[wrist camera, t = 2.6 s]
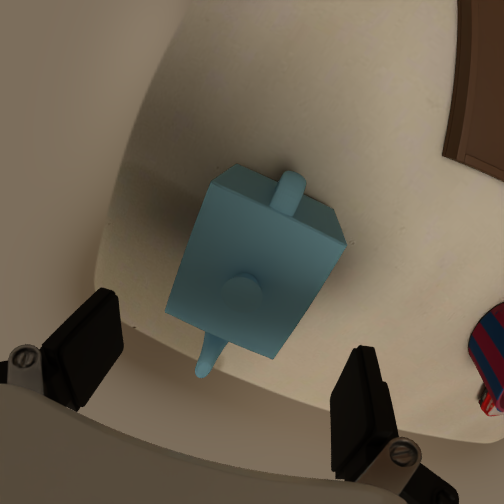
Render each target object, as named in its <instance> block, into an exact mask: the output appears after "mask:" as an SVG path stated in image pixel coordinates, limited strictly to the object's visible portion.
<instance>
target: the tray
mask: <svg viewBox="0 0 504 504" xmlns="http://www.w3.org/2000/svg"><path fill="white" fill-rule="evenodd" d="M442 156H444V157H447V158H449V159H452V160H454V161H457V162H459V163H462V164H464V165H467V166H469V167H472V168H474V169H476V170H479V171H481V172H483V173H485V174H488V175H490V176H492V177H494V178H496V179H498V180H501V181H503V182H504V0H458V41H457V58H456V70H455V80H454V89H453V96H452V104H451V110H450V117H449V122H448V128H447V134H446V139H445V144H444V149H443V153H442Z"/></svg>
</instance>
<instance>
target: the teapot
mask: <svg viewBox="0 0 504 504" xmlns="http://www.w3.org/2000/svg"><path fill="white" fill-rule="evenodd" d="M305 187H306V180H305V178H304V177H303V176H301V175H300V174H298V173H296V172H294V171H285V172H284V173H283V174H282V176H281V178H280V180H279V182H277V181H274V180H272V179H270V178H268V177H266V176H263V175H261V174H259V173H257V172H255V171H252V170H250V169H248V168H246V167H243V166H241V165H239V164H235V165H234V166H232V167H231V168H229V169H228V170H226V171H225V172H224V173H222V174H221V175H219V176H218V177H216V178H215V179H213V180H212V181H211V183H210V185H209V188H208V190H207V193H206V195H205V198H204V201H203V203H202V206H201V208H200V211H199V214H198V216H197V219H196V222H195V224H194V227H193V230H192V233H191V235H190V238H189V241H188V244H187V246H186V249H185V252H184V255H183V258H182V261H181V264H180V266H179V269H178V272H177V275H176V278H175V281H174V284H173V287H172V290H171V293H170V296H169V299H168V302H167V306H166V309H165V313H168V314H170V315H172V316H174V317H176V318H178V319H180V320H182V321H185V322H187V323H189V324H191V325H193V326H195V327H197V328H199V329H201V330H204V331H205V336H204V342H203V347H202V351H201V354H200V357H199V359H198V362H197V364H196V368H195V374H196V376H197V377H199V378H204V377H206V376H207V375H208V374H209V373H210V371H211V370H212V368H213V366H214V364H215V362H216V360H217V358H218V356H219V355H220V353H221V352H222V350H223V349H224V347H225V346H226V345H227V343H228V342H231V343H233V344H236V345H238V346H241V347H243V348H245V349H248V350H250V351H253V352H255V353H258V354H261V355H263V356H265V357H268V358H270V359H274V357H275V356H276V355H277V353H278V352H279V350H280V349H281V347H282V346H283V345H284V343H285V342H286V340H287V339H288V337H289V336H290V335H291V333H292V332H293V330H294V329H295V327H296V326H297V324H298V323H299V321H300V320H301V318H302V317H303V315H304V314H305V312H306V311H307V309H308V308H309V306H310V305H311V303H312V302H313V300H314V299H315V297H316V295H317V294H318V292H319V291H320V289H321V287H322V286H323V284H324V283H325V281H326V279H327V278H328V276H329V275H330V273H331V271H332V270H333V268H334V266H335V265H336V263H337V261H338V260H339V258H340V256H341V255H342V253H343V251H344V250H345V248H346V246H347V243H346V240H345V237H344V235H343V232H342V230H341V227H340V224H339V222H338V219H337V217H336V214H335V212H334V209H332V208H330V207H328V206H326V205H324V204H322V203H320V202H318V201H316V200H314V199H312V198H310V197H308V196H306V195H304V194H303V193H304V190H305Z"/></svg>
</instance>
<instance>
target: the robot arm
mask: <svg viewBox="0 0 504 504" xmlns="http://www.w3.org/2000/svg"><path fill="white" fill-rule="evenodd" d="M123 348H124V343H123V336H122V328H121V319H120V310H119V300H118V296H116V295H115V292H114V291H112V290H109V289H106V288H99V289H98V290H97V291H96V292H95V293H94V294H93V295H92V296H91V297H90V298H89V299H88V300H86V301H85V302H84V304H82V305H81V306H80V307H79V308H78V309H77V310H76V311H75V312H74V313H73V314H72V315H71V316H70V317H69V318H68V319H67V320H66V321H65V322H64V323H63V324H62V325H61V326H60V327H59V328H58V329H57V330H56V331H55V332H54V333H53V334H52V335H51V336H50V337H49V338H48V339H47V340H46V341H45V342H44V343H43V344H42V347H41V348H40V349H38V348H37V347H35V346H33V345H28V344H27V345H26V344H25V345H21V346H18V347H17V348H15V349H14V350H13V351H12V352H11V353H10V356H9V359H8V361H2V362H0V504H459V496H458V493H457V491H456V489H454V488H453V487H452V486H451V485H450V484H448V483H447V482H446V481H444V480H442V479H441V478H440V477H439V476H437V475H436V474H434V473H433V472H432V471H431V470H429V469H428V468H427V467H425V466H424V465H423V464H421V463H420V462H421V459H422V453H421V450H420V448H419V446H418V445H417V444H416V443H415V442H414V441H413V440H411V439H409V438H405V437H399V435H398V430H397V425H396V420H395V415H394V410H393V406H392V401H391V397H390V393H389V388H388V385H387V383H386V382H383V381H382V377H381V373H380V368H379V364H378V360H377V356H376V352H375V349H374V347H370V346H362V345H359V346H358V348H354V349H353V350H352V352H351V354H350V356H349V358H348V361H347V363H346V365H345V367H344V369H343V371H342V373H341V375H340V377H339V379H338V381H337V383H336V385H335V387H334V389H333V391H332V394H331V397H330V417H331V470H332V471H333V472H335V473H336V476H335V477H336V479H345V481H338V480H328V479H316V478H306V477H297V476H288V475H282V474H274V473H268V472H261V471H256V470H250V469H245V468H240V467H235V466H230V465H226V464H221V463H217V462H213V461H209V460H204V459H201V458H197V457H193V456H190V455H186V454H183V453H180V452H176V451H173V450H170V449H167V448H163V447H160V446H158V445H155V444H152V443H149V442H146V441H143V440H140V439H138V438H135V437H132V436H130V435H127V434H125V433H122V432H120V431H117V430H115V429H112V428H110V427H108V426H105V425H103V424H101V423H99V422H96V421H94V420H92V419H90V418H88V417H86V416H84V415H81V414H79V413H77V411H78V410H79V408H80V407H84V406H85V405H86V403H87V402H88V401H89V398H91V396H92V395H93V393H94V392H95V390H96V389H97V387H98V386H99V384H100V383H101V382H102V380H103V379H104V377H105V376H106V374H107V373H108V371H109V370H110V369H111V367H112V366H113V364H114V363H115V362H116V360H117V359H118V357H119V356H120V354H121V353H122V351H123ZM67 407H68V408H67ZM69 408H70V409H69ZM71 409H72V410H71ZM73 410H74V411H73ZM75 411H76V412H75Z"/></svg>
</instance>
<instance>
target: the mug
mask: <svg viewBox="0 0 504 504" xmlns="http://www.w3.org/2000/svg"><path fill="white" fill-rule="evenodd" d="M468 351H469V355H470V357H471V358H472V360H473V362H474V364H475V366H476V368H477V370H478V372H479V374H480V376H481V378H482V380H483V382H484V384H485V386H486V388H487V390H488V392H489V394H490V396H491V398H492V400H493V403H494V405H495V407H496V409H497V411H499V412H504V303H502V304H500V305H498V306H496V307H495V308H493V309H492V310H491V311H489V312H488V313H487V314H486V315H485V316H484V317H483V318H482V319H481V321H480V322H479V323H478V325H477V326H476V328H475V329H474V331H473V333H472V335H471V338H470V341H469V346H468Z"/></svg>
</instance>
